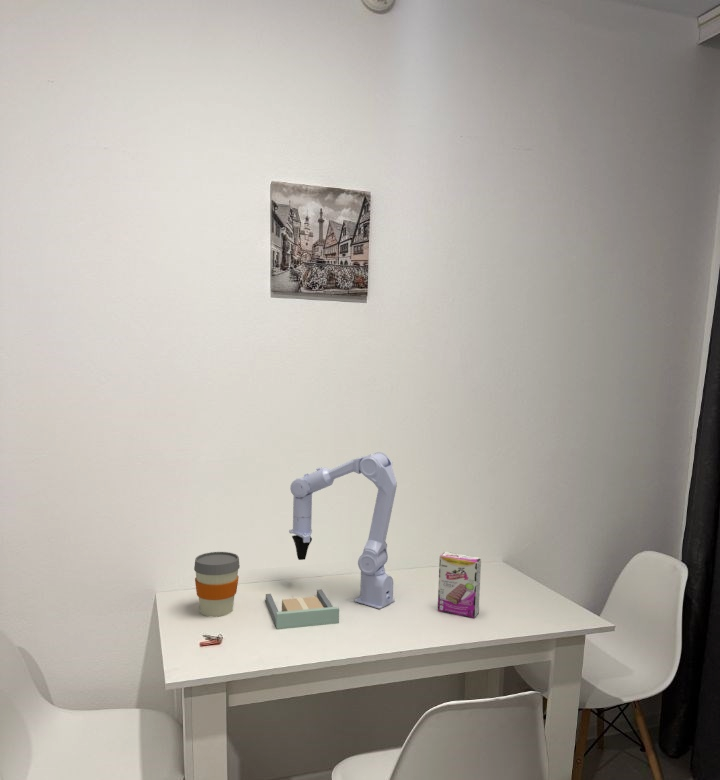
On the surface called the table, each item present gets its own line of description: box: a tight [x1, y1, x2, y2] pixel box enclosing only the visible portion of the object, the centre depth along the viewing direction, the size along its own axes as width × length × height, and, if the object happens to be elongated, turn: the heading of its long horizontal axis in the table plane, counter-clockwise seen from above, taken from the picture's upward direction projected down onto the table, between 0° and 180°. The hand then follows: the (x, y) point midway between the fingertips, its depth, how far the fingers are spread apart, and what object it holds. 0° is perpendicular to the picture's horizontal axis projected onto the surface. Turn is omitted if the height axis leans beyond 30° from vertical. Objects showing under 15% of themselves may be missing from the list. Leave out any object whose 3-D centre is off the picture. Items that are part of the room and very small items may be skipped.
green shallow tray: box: [265, 589, 340, 630], centre depth 181 cm, size 20×17×4 cm
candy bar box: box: [437, 551, 482, 619], centre depth 183 cm, size 11×5×16 cm, turn 65°
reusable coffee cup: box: [193, 551, 240, 618], centre depth 180 cm, size 12×12×15 cm
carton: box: [281, 596, 324, 612], centre depth 178 cm, size 9×10×4 cm
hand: (301, 559), depth 199 cm, fingers closed
